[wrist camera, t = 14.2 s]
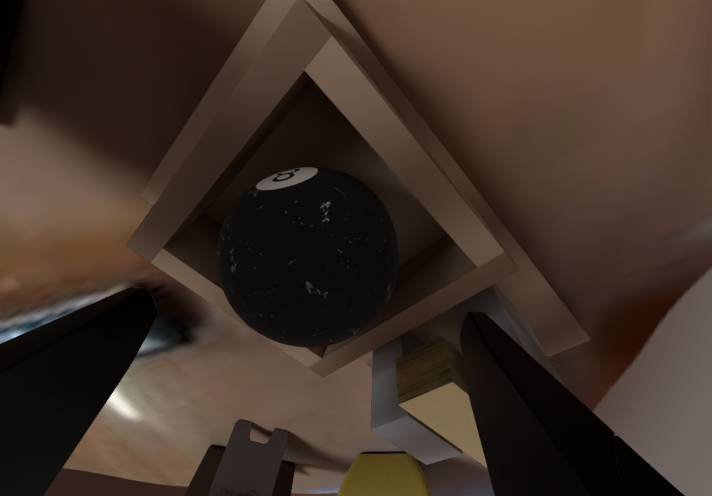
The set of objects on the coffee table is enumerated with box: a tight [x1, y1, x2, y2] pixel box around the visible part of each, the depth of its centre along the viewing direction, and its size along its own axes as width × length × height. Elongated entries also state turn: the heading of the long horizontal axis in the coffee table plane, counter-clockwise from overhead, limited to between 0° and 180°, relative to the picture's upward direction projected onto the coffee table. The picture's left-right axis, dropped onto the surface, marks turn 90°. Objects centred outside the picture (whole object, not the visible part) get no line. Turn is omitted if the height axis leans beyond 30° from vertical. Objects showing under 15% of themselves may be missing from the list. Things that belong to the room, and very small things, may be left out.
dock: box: [126, 0, 591, 465], centre depth 12 cm, size 21×11×6 cm, turn 44°
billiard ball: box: [217, 167, 399, 348], centre depth 10 cm, size 6×6×6 cm
